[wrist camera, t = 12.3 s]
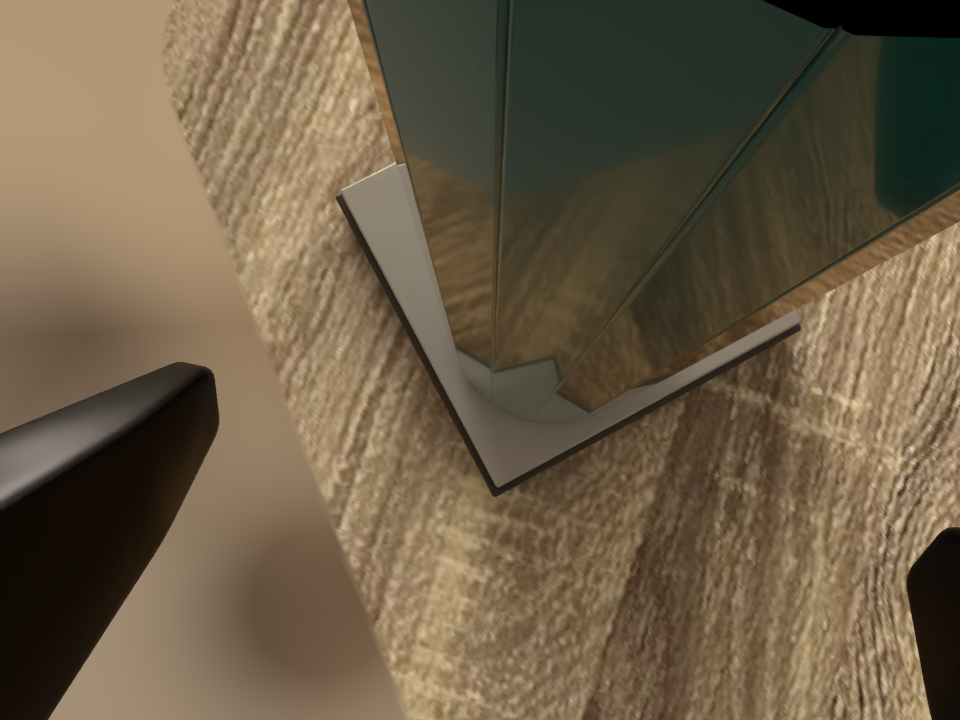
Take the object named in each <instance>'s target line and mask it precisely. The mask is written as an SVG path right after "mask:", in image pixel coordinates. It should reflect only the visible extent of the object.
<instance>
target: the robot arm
mask: <svg viewBox="0 0 960 720" xmlns="http://www.w3.org/2000/svg"><path fill="white" fill-rule="evenodd" d="M218 426H219V410H218V402H217V394H216V386H215V379H214V374H213V373H212V371H211V370H210V369H208V368H207V367H204V366H199V365H194V364H190V363H185V362H176V363H173V364H170V365H168V366H165V367H163V368H160V369H158V370H155V371H153V372H150V373H148V374H145V375H143V376H140V377H138V378H136V379H133V380H131V381H128V382H126V383H123V384H121V385H118V386H116V387H113V388H111V389H109V390H106V391H104V392H101V393H99V394H96V395H94V396H91V397H89V398H86V399H84V400H81V401H79V402H77V403H74V404H72V405H69V406H67V407H64V408H62V409H59V410H57V411H55V412H52V413H50V414H47V415H45V416H42V417H40V418H37V419H35V420H32V421H30V422H28V423H25V424H23V425H20V426H18V427H15V428H13V429H10V430H8V431H5V432H3V433H0V720H48V719H49V717H50V715H51V714H52V712H53V711H54V709H55V708H56V706H57V705H58V703H59V702H60V700H61V698H62V697H63V695H64V694H65V692H66V691H67V689H68V688H69V686H70V685H71V683H72V681H73V680H74V678H75V677H76V675H77V674H78V672H79V671H80V669H81V667H82V666H83V664H84V663H85V661H86V660H87V658H88V657H89V655H90V654H91V652H92V650H93V649H94V647H95V646H96V644H97V643H98V641H99V640H100V638H101V637H102V635H103V633H104V632H105V630H106V629H107V627H108V626H109V624H110V622H111V621H112V619H113V618H114V616H115V615H116V613H117V611H118V610H119V609H120V607H121V605H122V604H123V602H124V600H125V599H126V598H127V596H128V595H129V593H130V592H131V590H132V589H133V587H134V585H135V584H136V582H137V581H138V579H139V578H140V576H141V575H142V573H143V571H144V570H145V568H146V567H147V565H148V564H149V562H150V561H151V559H152V558H153V556H154V554H155V553H156V551H157V549H158V548H159V546H160V544H161V543H162V541H163V540H164V538H165V536H166V534H167V532H168V530H169V528H170V527H171V525H172V523H173V521H174V519H175V517H176V515H177V513H178V511H179V509H180V507H181V505H182V503H183V501H184V499H185V497H186V495H187V493H188V491H189V489H190V486H191V485H192V482H193V481H194V479H195V477H196V475H197V473H198V471H199V468H200V467H201V465H202V463H203V461H204V458H205V456H206V455H207V453H208V451H209V448H210V447H211V444H212V443H213V441H214V438H215V436H216V434H217V431H218ZM907 593H908V598H909V604H910V609H911V614H912V620H913V625H914V631H915V636H916V642H917V647H918V652H919V658H920V663H921V669H922V674H923V680H924V685H925V690H926V695H927V700H928V705H929V709H930V714H931V718H932V720H960V528H958V527H950V528H947V529H945V530H943V531H942V532H940V533H939V534H938V536H937V537H936V538H935V539H934V541H933V542H932V543H931V544H930V545H929V547H928V548H927V549H926V550H925V551H924V553H923V554H922V555H921V556H920V557H919V559H918V560H917V561H916V562H915V563H914V565H913V566H912V567H911V569H910V571H909V573H908V578H907Z"/></svg>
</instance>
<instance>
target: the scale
mask: <svg viewBox="0 0 960 720" xmlns="http://www.w3.org/2000/svg"><path fill="white" fill-rule="evenodd" d="M336 199H337V201H338V203H339V205H340V207H341V209H342V211H343V213H344V215H345V217H346V218H347V220H348V222H349V224H350V226H351V228H352V230H353V232H354V234H355V235H356V237H357V239H358V241H359V243H360V245H361V247H362V249H363V251H364V253H365V254H366V256H367V258H368V260H369V262H370V264H371V266H372V268H373V270H374V272H375V273H376V275H377V277H378V279H379V281H380V283H381V285H382V287H383V289H384V291H385V292H386V294H387V296H388V298H389V300H390V302H391V304H392V306H393V308H394V310H395V311H396V313H397V315H398V317H399V319H400V321H401V323H402V325H403V327H404V328H405V330H406V332H407V334H408V336H409V338H410V340H411V342H412V344H413V346H414V347H415V349H416V351H417V353H418V355H419V357H420V359H421V361H422V363H423V365H424V366H425V368H426V370H427V372H428V374H429V376H430V378H431V380H432V382H433V384H434V385H435V387H436V389H437V391H438V393H439V395H440V397H441V399H442V401H443V403H444V404H445V406H446V408H447V410H448V412H449V414H450V416H451V418H452V420H453V421H454V423H455V425H456V427H457V429H458V431H459V433H460V435H461V437H462V439H463V440H464V442H465V444H466V446H467V448H468V450H469V452H470V454H471V456H472V458H473V459H474V461H475V463H476V465H477V467H478V469H479V471H480V473H481V475H482V477H483V478H484V480H485V482H486V484H487V486H488V488H489V490H490V492H491V494H492V495H493V496H494V497H496V496H498V495H500V494H502V493H504V492H506V491H507V490H509V489H511V488H513V487H515V486H517V485H518V484H520V483H522V482H524V481H526V480H528V479H529V478H531V477H533V476H535V475H537V474H539V473H540V472H542V471H544V470H546V469H548V468H550V467H551V466H553V465H555V464H557V463H559V462H561V461H562V460H564V459H566V458H568V457H570V456H571V455H573V454H575V453H577V452H579V451H581V450H582V449H584V448H586V447H588V446H590V445H592V444H593V443H595V442H597V441H599V440H601V439H603V438H604V437H606V436H608V435H610V434H612V433H614V432H615V431H617V430H619V429H621V428H623V427H625V426H626V425H628V424H630V423H632V422H634V421H635V420H637V419H639V418H641V417H643V416H645V415H646V414H648V413H650V412H652V411H654V410H656V409H657V408H659V407H661V406H663V405H665V404H667V403H668V402H670V401H672V400H674V399H676V398H678V397H679V396H681V395H683V394H685V393H687V392H689V391H690V390H692V389H694V388H696V387H698V386H699V385H701V384H703V383H705V382H707V381H709V380H710V379H712V378H714V377H716V376H718V375H720V374H721V373H723V372H725V371H727V370H729V369H731V368H732V367H734V366H736V365H738V364H740V363H742V362H743V361H745V360H747V359H749V358H751V357H753V356H754V355H756V354H758V353H760V352H762V351H763V350H765V349H767V348H769V347H771V346H773V345H774V344H776V343H778V342H780V341H782V340H784V339H785V338H787V337H789V336H791V335H793V334H795V333H796V332H798V331H800V330H801V327H800V325H799V323H800V322H801V319H800V317H799V316H798V314H797V312H796V311H795V310H794V311H792V312H790V313H788V314H786V315H784V316H783V317H781V318H779V319H777V320H775V321H773V322H771V323H770V324H768V325H766V326H764V327H762V328H760V329H758V330H757V331H755V332H753V333H751V334H749V335H747V336H745V337H743V338H742V339H740V340H738V341H736V342H734V343H732V344H730V345H729V346H727V347H725V348H723V349H721V350H719V351H717V352H716V353H714V354H712V355H710V356H708V357H706V358H704V359H703V360H701V361H699V362H697V363H695V364H693V365H691V366H689V367H688V368H686V369H684V370H682V371H680V372H678V373H676V374H675V375H673V376H671V377H669V378H667V379H665V380H663V381H662V382H660V383H658V384H656V385H654V386H652V387H650V388H649V389H647V390H645V391H643V392H641V393H639V394H637V395H635V396H634V397H632V398H630V399H628V400H626V401H624V402H622V403H621V404H619V405H617V406H615V407H613V408H611V409H609V410H606V411H604V412H601V413H598V414H596V415H594V416H592V417H590V418H586V419H583V420H580V421H578V422H573V423H565V424H541V423H534V422H529V421H525V420H521V419H519V418H516V417H513V416H511V415H509V414H507V413H505V412H503V411H501V410H499V409H497V408H496V407H495V406H493V405H492V404H490V403H489V402H487V401H486V400H485V399H484V398H483V397H482V396H481V395H480V394H479V393H478V392H477V391H476V390H475V389H474V388H473V387H472V385H471V384H470V383H469V382H468V380H467V379H466V378H465V377H464V375H463V373H462V372H461V370H460V367H459V364H458V362H457V360H456V357H455V354H454V351H453V349H452V346H451V344H450V341H449V338H448V335H447V332H446V329H445V325H444V322H443V318H442V315H441V312H440V308H439V305H438V302H437V298H436V295H435V292H434V288H433V285H432V282H431V278H430V275H429V272H428V268H427V265H426V262H425V258H424V255H423V251H422V248H421V245H420V241H419V238H418V235H417V231H416V228H415V225H414V221H413V218H412V215H411V211H410V208H409V205H408V201H407V198H406V195H405V191H404V188H403V184H402V181H401V178H400V174H399V171H398V168H397V164H396V163H394V164H392V165H390V166H388V167H386V168H384V169H382V170H380V171H378V172H376V173H374V174H372V175H370V176H368V177H366V178H364V179H362V180H360V181H358V182H356V183H354V184H352V185H350V186H348V187H346V188H344V189H342V190H341V194H340V195H338V196H337V197H336Z"/></svg>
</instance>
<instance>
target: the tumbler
mask: <svg viewBox="0 0 960 720" xmlns="http://www.w3.org/2000/svg"><path fill="white" fill-rule="evenodd" d="M348 4H349V7H350V10H351V14H352V17H353V20H354V24H355V27H356V30H357V34H358V37H359V40H360V44H361V47H362V50H363V54H364V57H365V61H366V64H367V67H368V71H369V74H370V77H371V81H372V84H373V87H374V91H375V94H376V97H377V101H378V104H379V107H380V111H381V114H382V117H383V121H384V124H385V128H386V131H387V134H388V138H389V141H390V144H391V148H392V151H393V154H394V158H395V161H396V164H397V168H398V171H399V174H400V178H401V181H402V184H403V188H404V191H405V195H406V198H407V201H408V205H409V208H410V211H411V215H412V218H413V221H414V225H415V228H416V231H417V235H418V238H419V241H420V245H421V248H422V251H423V255H424V258H425V262H426V265H427V268H428V272H429V275H430V278H431V282H432V285H433V288H434V292H435V295H436V298H437V302H438V305H439V308H440V312H441V315H442V318H443V322H444V325H445V329H446V332H447V335H448V338H449V341H450V344H451V346H452V349H453V351H454V354H455V357H456V360H457V362H458V364H459V367H460V370H461V372H462V373H463V375H464V377H465V378H466V379H467V380H468V382H469V383H470V384H471V385H472V387H473V388H474V389H475V390H476V391H477V392H478V393H479V394H480V395H481V396H482V397H483V398H484V399H485V400H486V401H487V402H489V403H490V404H492V405H493V406H495V407H496V408H497V409H499V410H501V411H503V412H505V413H507V414H509V415H511V416H513V417H516V418H519V419H521V420H525V421H529V422H534V423H541V424H565V423H573V422H578V421H580V420H583V419H586V418H590V417H592V416H594V415H596V414H598V413H601V412H604V411H606V410H609V409H611V408H613V407H615V406H617V405H619V404H621V403H622V402H624V401H626V400H628V399H630V398H632V397H634V396H635V395H637V394H639V393H641V392H643V391H645V390H647V389H649V388H650V387H652V386H654V385H656V384H658V383H660V382H662V381H663V380H665V379H667V378H669V377H671V376H673V375H675V374H676V373H678V372H680V371H682V370H684V369H686V368H688V367H689V366H691V365H693V364H695V363H697V362H699V361H701V360H703V359H704V358H706V357H708V356H710V355H712V354H714V353H716V352H717V351H719V350H721V349H723V348H725V347H727V346H729V345H730V344H732V343H734V342H736V341H738V340H740V339H742V338H743V337H745V336H747V335H749V334H751V333H753V332H755V331H757V330H758V329H760V328H762V327H764V326H766V325H768V324H770V323H771V322H773V321H775V320H777V319H779V318H781V317H783V316H784V315H786V314H788V313H790V312H792V311H794V310H796V309H797V308H799V307H801V306H803V305H805V304H807V303H809V302H811V301H812V300H814V299H816V298H818V297H820V296H822V295H824V294H825V293H827V292H829V291H831V290H833V289H835V288H837V287H838V286H840V285H842V284H844V283H846V282H848V281H850V280H851V279H853V278H855V277H857V276H859V275H861V274H863V273H865V272H866V271H868V270H870V269H872V268H874V267H876V266H878V265H879V264H881V263H883V262H885V261H887V260H889V259H891V258H892V257H894V256H896V255H898V254H900V253H902V252H904V251H905V250H907V249H909V248H911V247H913V246H915V245H917V244H919V243H920V242H922V241H924V240H926V239H928V238H930V237H932V236H933V235H935V234H937V233H939V232H941V231H943V230H945V229H946V228H948V227H950V226H952V225H954V224H956V223H958V222H959V221H960V0H348Z"/></svg>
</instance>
